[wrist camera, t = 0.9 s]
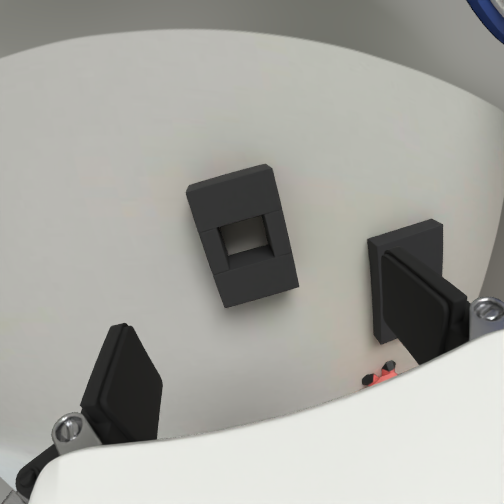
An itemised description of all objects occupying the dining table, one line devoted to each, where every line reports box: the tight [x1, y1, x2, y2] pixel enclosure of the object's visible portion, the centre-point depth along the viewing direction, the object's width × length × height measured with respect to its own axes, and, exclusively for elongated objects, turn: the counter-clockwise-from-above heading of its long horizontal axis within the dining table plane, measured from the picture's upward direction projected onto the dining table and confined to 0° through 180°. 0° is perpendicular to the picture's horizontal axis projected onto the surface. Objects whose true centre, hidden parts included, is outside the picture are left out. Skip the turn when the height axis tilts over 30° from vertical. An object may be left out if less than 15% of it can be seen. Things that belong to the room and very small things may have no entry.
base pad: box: [367, 219, 443, 345], centre depth 29 cm, size 12×8×4 cm, turn 14°
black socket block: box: [186, 164, 299, 308], centre depth 25 cm, size 10×6×3 cm, turn 15°
